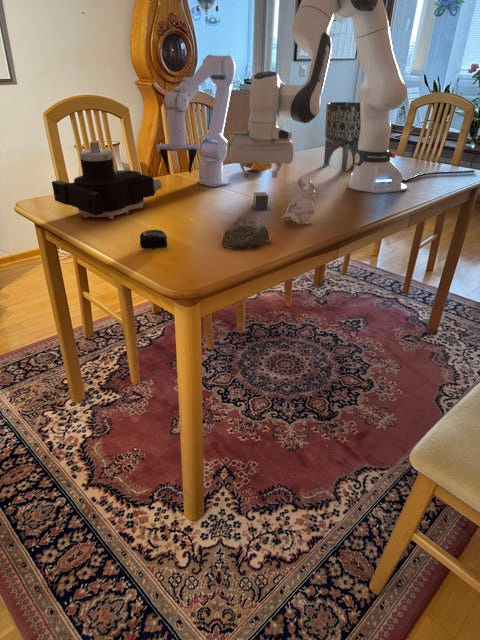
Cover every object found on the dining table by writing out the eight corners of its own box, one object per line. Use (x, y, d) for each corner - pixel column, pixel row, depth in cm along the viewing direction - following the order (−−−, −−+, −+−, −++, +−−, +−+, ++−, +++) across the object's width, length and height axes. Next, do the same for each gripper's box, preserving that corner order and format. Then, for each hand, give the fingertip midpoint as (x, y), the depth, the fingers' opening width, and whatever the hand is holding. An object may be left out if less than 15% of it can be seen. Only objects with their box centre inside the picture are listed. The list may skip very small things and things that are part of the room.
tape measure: (140, 252, 115) (139, 238, 113) (141, 242, 120) (140, 229, 119) (167, 251, 116) (166, 237, 114) (167, 241, 121) (166, 228, 120)
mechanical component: (44, 141, 131) (128, 131, 151) (57, 212, 142) (134, 194, 162) (86, 151, 119) (172, 139, 139) (97, 228, 130) (175, 206, 150)
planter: (313, 167, 208) (319, 103, 195) (331, 160, 222) (338, 101, 209) (353, 173, 199) (362, 107, 185) (369, 166, 213) (379, 104, 199)
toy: (243, 164, 194) (247, 156, 207) (248, 178, 197) (252, 170, 210) (268, 155, 191) (270, 148, 204) (272, 170, 194) (275, 162, 206)
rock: (255, 233, 128) (256, 211, 124) (276, 242, 122) (278, 219, 119) (217, 244, 120) (217, 220, 117) (239, 254, 115) (239, 230, 111)
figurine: (321, 218, 142) (325, 177, 135) (298, 231, 131) (302, 187, 125) (298, 213, 146) (301, 173, 139) (274, 225, 135) (277, 182, 128)
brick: (255, 210, 149) (255, 195, 146) (252, 206, 153) (253, 192, 150) (267, 209, 149) (268, 195, 147) (264, 206, 153) (265, 192, 151)
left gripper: (155, 133, 150) (158, 175, 156) (199, 132, 152) (200, 174, 158) (155, 129, 156) (158, 170, 162) (197, 129, 158) (198, 170, 164)
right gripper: (230, 132, 135) (229, 179, 142) (296, 133, 138) (292, 179, 145) (227, 129, 140) (226, 175, 147) (291, 130, 143) (287, 175, 150)
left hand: (179, 172), depth 161 cm, fingers open, 7 cm apart
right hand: (260, 177), depth 146 cm, fingers open, 8 cm apart
